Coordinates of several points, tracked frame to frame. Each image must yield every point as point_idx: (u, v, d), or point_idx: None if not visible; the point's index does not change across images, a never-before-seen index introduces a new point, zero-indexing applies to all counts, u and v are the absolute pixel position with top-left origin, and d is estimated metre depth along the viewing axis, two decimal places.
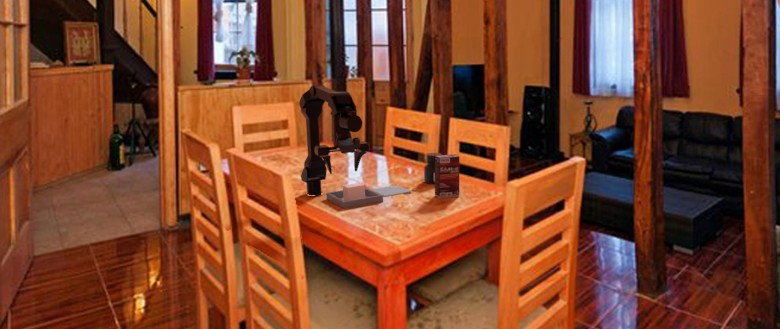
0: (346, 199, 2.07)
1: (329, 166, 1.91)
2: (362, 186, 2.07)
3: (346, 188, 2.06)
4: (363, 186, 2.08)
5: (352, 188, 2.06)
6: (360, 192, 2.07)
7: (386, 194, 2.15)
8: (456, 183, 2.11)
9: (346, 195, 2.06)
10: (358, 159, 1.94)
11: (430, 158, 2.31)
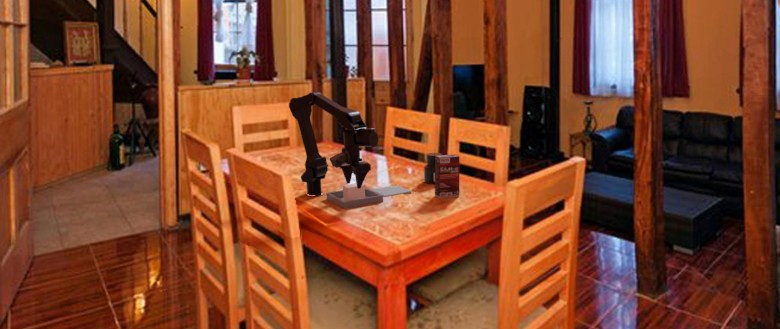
0: (346, 199, 2.07)
1: None
2: (362, 186, 2.07)
3: (346, 188, 2.06)
4: (363, 186, 2.08)
5: (352, 188, 2.06)
6: (360, 192, 2.07)
7: (386, 194, 2.15)
8: (456, 183, 2.11)
9: (346, 195, 2.06)
10: (356, 177, 2.02)
11: (430, 158, 2.31)
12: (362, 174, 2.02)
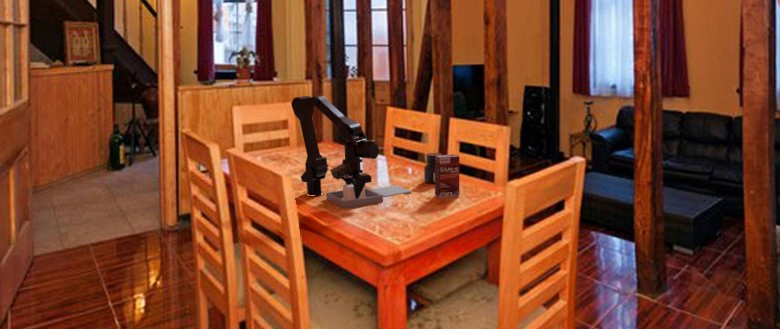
0: (346, 199, 2.07)
1: None
2: None
3: (346, 188, 2.06)
4: None
5: (352, 188, 2.06)
6: None
7: (386, 194, 2.15)
8: (456, 183, 2.11)
9: (346, 195, 2.06)
10: (354, 188, 2.05)
11: (430, 158, 2.31)
12: (360, 184, 2.05)
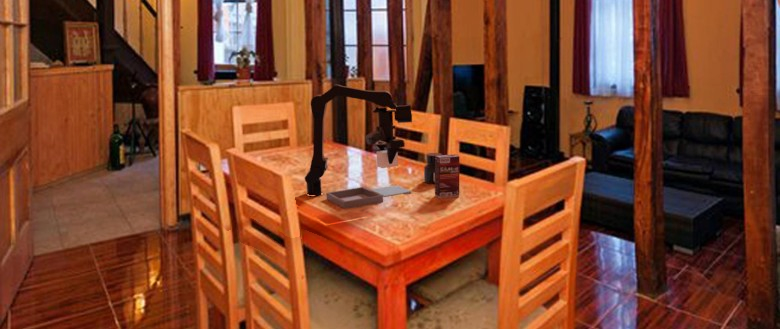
0: (380, 164, 2.16)
1: None
2: None
3: (380, 154, 2.14)
4: None
5: (386, 153, 2.14)
6: None
7: (386, 194, 2.15)
8: (456, 183, 2.11)
9: (380, 160, 2.15)
10: (387, 153, 2.13)
11: (430, 158, 2.31)
12: (393, 150, 2.14)
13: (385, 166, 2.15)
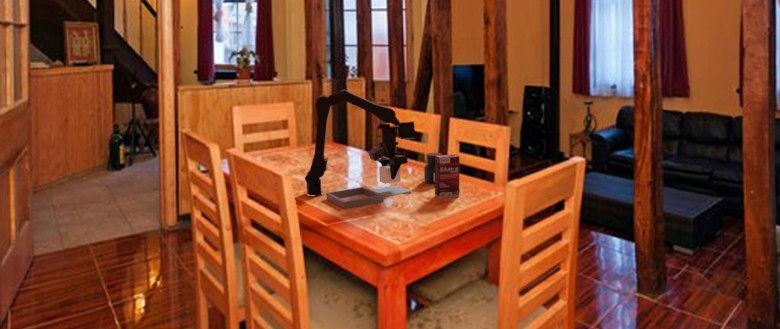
0: (382, 180, 2.18)
1: None
2: None
3: (383, 169, 2.17)
4: None
5: (388, 169, 2.17)
6: None
7: (386, 194, 2.15)
8: (456, 183, 2.11)
9: (383, 176, 2.17)
10: (390, 169, 2.16)
11: (430, 158, 2.31)
12: (396, 166, 2.16)
13: (388, 181, 2.17)
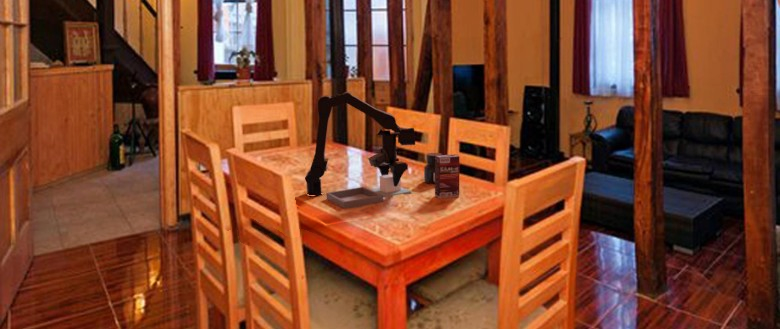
0: (383, 189, 2.19)
1: None
2: None
3: (383, 178, 2.18)
4: None
5: (389, 178, 2.17)
6: None
7: (386, 194, 2.15)
8: (456, 183, 2.11)
9: (383, 185, 2.18)
10: (393, 176, 2.15)
11: (430, 158, 2.31)
12: (399, 173, 2.15)
13: (388, 191, 2.18)
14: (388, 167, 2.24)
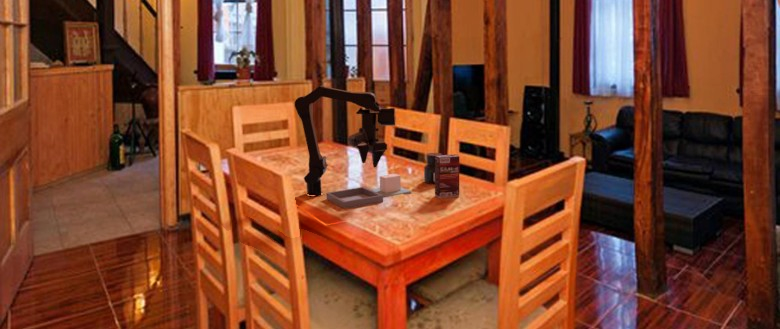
0: (383, 189, 2.19)
1: (360, 155, 2.19)
2: (398, 177, 2.19)
3: (383, 178, 2.18)
4: (399, 177, 2.20)
5: (389, 178, 2.17)
6: (396, 183, 2.19)
7: (386, 194, 2.15)
8: (456, 183, 2.11)
9: (383, 185, 2.18)
10: (372, 156, 2.10)
11: (430, 158, 2.31)
12: (378, 153, 2.11)
13: (388, 191, 2.18)
14: (367, 147, 2.20)
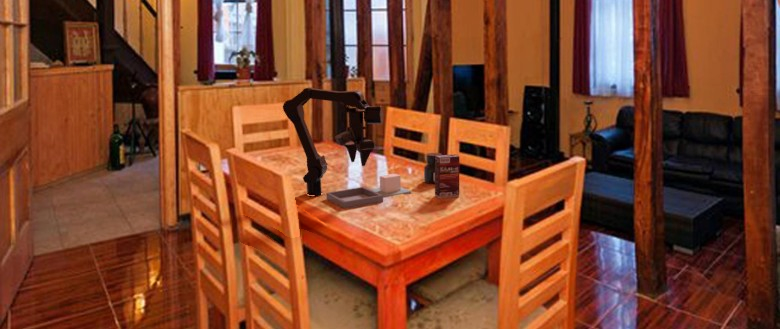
0: (383, 189, 2.19)
1: (349, 154, 2.18)
2: (398, 177, 2.19)
3: (383, 178, 2.18)
4: (399, 177, 2.20)
5: (389, 178, 2.17)
6: (396, 183, 2.19)
7: (386, 194, 2.15)
8: (456, 183, 2.11)
9: (383, 185, 2.18)
10: (360, 155, 2.08)
11: (430, 158, 2.31)
12: (366, 152, 2.08)
13: (388, 191, 2.18)
14: (356, 146, 2.18)
